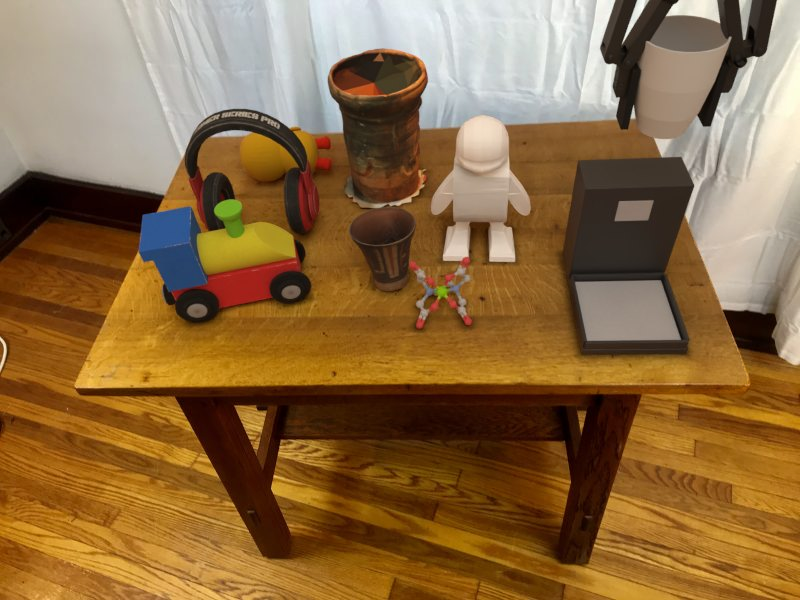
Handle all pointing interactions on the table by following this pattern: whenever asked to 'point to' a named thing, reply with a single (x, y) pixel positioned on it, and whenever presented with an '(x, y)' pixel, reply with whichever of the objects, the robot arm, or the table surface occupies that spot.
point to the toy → (280, 155)
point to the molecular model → (442, 291)
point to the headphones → (217, 186)
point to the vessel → (381, 124)
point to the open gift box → (626, 254)
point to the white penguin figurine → (481, 190)
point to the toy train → (221, 261)
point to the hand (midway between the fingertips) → (662, 121)
